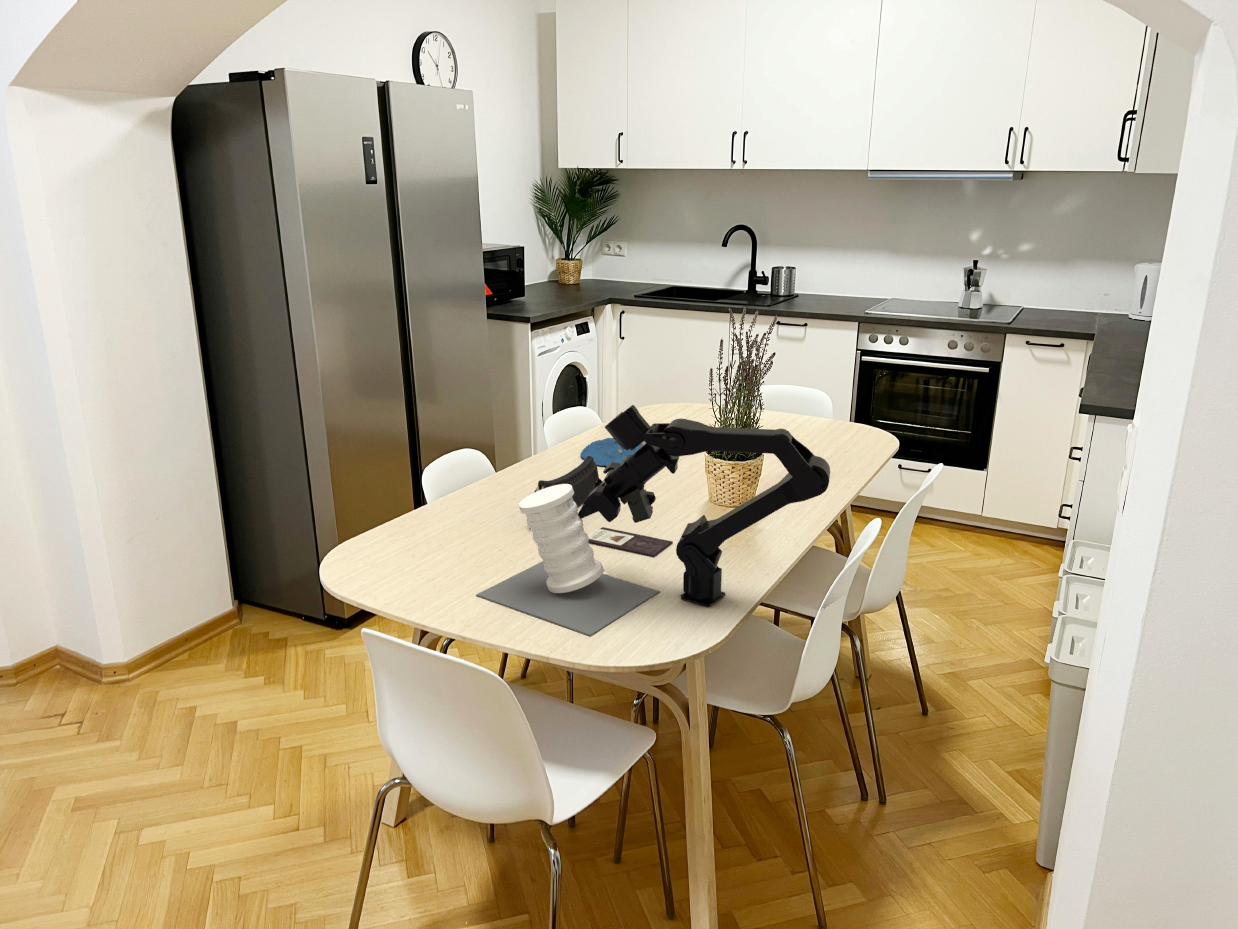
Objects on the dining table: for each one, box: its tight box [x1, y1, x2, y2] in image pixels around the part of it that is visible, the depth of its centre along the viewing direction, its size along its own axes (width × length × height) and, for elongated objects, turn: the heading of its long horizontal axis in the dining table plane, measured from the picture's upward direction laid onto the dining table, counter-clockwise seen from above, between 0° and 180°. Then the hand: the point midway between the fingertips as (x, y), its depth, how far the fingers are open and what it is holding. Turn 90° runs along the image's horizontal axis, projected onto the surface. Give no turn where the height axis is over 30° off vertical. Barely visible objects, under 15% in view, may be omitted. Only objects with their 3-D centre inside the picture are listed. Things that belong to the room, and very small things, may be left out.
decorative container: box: [518, 484, 605, 593], centre depth 173 cm, size 12×12×18 cm
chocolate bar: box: [588, 526, 674, 558], centre depth 198 cm, size 9×1×18 cm
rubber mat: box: [475, 560, 660, 637], centre depth 173 cm, size 28×22×1 cm
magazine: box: [533, 456, 600, 508], centre depth 218 cm, size 17×3×30 cm
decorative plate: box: [580, 437, 646, 467], centre depth 263 cm, size 30×30×5 cm
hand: (579, 516), depth 172 cm, fingers closed
